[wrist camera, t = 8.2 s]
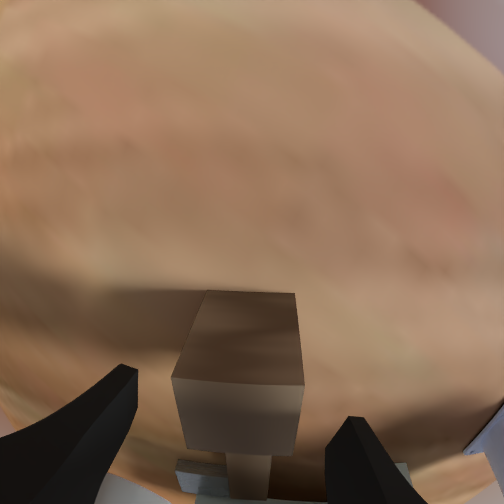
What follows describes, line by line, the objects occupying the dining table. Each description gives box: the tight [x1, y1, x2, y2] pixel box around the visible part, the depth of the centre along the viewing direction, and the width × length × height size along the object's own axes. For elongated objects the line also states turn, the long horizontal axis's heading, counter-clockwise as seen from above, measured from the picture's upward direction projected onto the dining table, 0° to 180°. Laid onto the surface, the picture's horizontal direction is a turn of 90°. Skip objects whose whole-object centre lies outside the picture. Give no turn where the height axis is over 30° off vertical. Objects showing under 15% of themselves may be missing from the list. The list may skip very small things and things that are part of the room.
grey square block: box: [175, 459, 230, 498], centre depth 20 cm, size 4×4×2 cm
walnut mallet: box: [171, 290, 305, 501], centre depth 15 cm, size 4×20×6 cm, turn 0°
